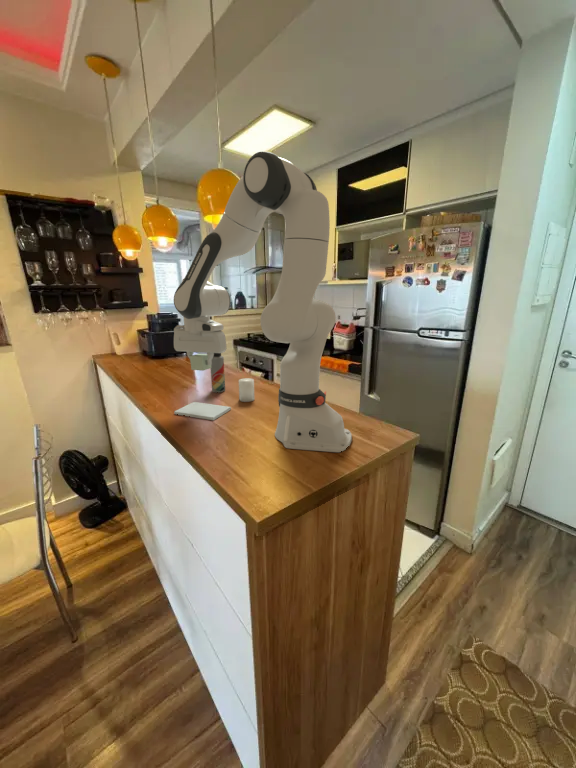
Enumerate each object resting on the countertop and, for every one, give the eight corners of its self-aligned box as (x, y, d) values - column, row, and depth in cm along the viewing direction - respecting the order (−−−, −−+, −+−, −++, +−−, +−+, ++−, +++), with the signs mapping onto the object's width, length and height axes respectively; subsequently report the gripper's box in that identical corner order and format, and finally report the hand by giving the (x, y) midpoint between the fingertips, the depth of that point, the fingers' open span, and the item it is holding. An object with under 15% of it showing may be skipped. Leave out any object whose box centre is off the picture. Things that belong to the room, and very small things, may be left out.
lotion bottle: (222, 393, 131) (219, 346, 126) (209, 392, 132) (206, 346, 127) (227, 389, 137) (225, 344, 131) (215, 388, 138) (212, 344, 132)
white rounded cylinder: (257, 398, 125) (256, 379, 123) (250, 402, 120) (249, 382, 118) (243, 396, 127) (243, 377, 125) (236, 400, 122) (235, 381, 120)
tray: (230, 409, 112) (230, 406, 112) (213, 420, 102) (213, 417, 102) (194, 404, 118) (194, 401, 117) (174, 414, 108) (174, 411, 107)
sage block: (211, 367, 112) (210, 354, 111) (203, 370, 108) (201, 356, 107) (200, 367, 114) (198, 353, 113) (191, 369, 110) (190, 355, 108)
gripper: (167, 325, 108) (171, 364, 111) (217, 326, 101) (220, 367, 104) (179, 324, 114) (183, 361, 117) (227, 325, 106) (230, 364, 110)
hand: (201, 364), depth 111 cm, fingers closed on sage block, 5 cm apart
